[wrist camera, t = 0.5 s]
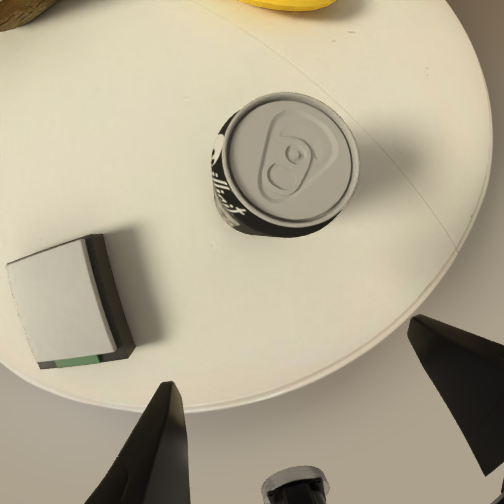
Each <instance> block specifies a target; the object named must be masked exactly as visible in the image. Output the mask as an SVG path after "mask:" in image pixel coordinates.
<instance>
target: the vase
mask: <svg viewBox="0 0 504 504" xmlns="http://www.w3.org/2000/svg"><path fill="white" fill-rule="evenodd" d="M238 1H241V2H245V3H248V4H251V5H254V6H258V7H264V8H269V9H274V10H285V11H309V10H315V9H319V8H323V7H326V6H328V5H330V4H331V3H333V2H335V1H336V0H238Z"/></svg>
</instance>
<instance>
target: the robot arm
mask: <svg viewBox="0 0 504 504" xmlns="http://www.w3.org/2000/svg"><path fill="white" fill-rule="evenodd" d="M407 335H408V339H409V341H410V343H411V345H412V346H413V348H414V350H415V352H416V354H417V356H418V358H419V360H420V362H421V364H422V366H423V368H424V369H425V371H426V373H427V374H428V376H429V377H430V379H431V380H432V382H433V384H434V385H435V387H436V388H437V390H438V392H439V393H440V395H441V397H442V398H443V400H444V402H445V403H446V405H447V407H448V408H449V410H450V411H451V413H452V415H453V417H454V419H455V420H456V422H457V424H458V426H459V427H460V429H461V431H462V433H463V434H464V436H465V438H466V440H467V442H468V444H469V446H470V448H471V450H472V452H473V454H474V455H475V458H476V459H477V461H478V463H479V465H480V468H481V470H482V472H483V474H484V475H485V476H487V475H488V474H490V473H491V472H492V471H493V470H495V469H496V468H497V467H498V466H500V465H501V464H502V463H503V462H504V345H501V344H499V343H496V342H493V341H492V342H491V340H487V339H485V338H483V337H480V336H477V335H475V334H472V333H469V332H467V331H464V330H461V329H459V328H456V327H453V326H451V325H448V324H445V323H443V322H440V321H437V320H435V319H432V318H429V317H427V316H424V315H421V314H418V315H416V316H414V317H412V318H411V320H410V324H409V328H408V332H407ZM187 442H188V441H187V432H186V425H185V418H184V410H183V403H182V397H181V395H180V393H179V391H178V389H177V387H176V385H175V383H174V382H173V381H168V382H162V383H161V384H160V386H159V387H158V389H157V391H156V392H155V394H154V396H153V397H152V399H151V401H150V402H149V404H148V406H147V407H146V409H145V411H144V412H143V414H142V416H141V417H140V419H139V421H138V423H137V425H136V426H135V428H134V429H133V431H132V433H131V434H130V436H129V438H128V439H127V441H126V443H125V445H124V446H123V448H122V450H121V451H120V453H119V455H118V457H117V458H116V460H115V461H114V463H113V465H112V466H111V468H110V469H109V471H108V473H107V474H106V476H105V477H104V479H103V480H102V481H101V483H100V484H99V486H98V487H97V488H96V489H95V491H94V492H93V493H92V494H91V496H90V497H89V498H88V499H87V501H86V502H85V503H84V504H190V488H189V469H188V443H187ZM501 493H502V494H501V495H500V496H499V497H498V498H496V499H495V500H494V501H493V502H492V503H491V504H504V480H503V484H502V490H501ZM267 497H268V499H269V501H270V503H271V504H326V497H325V491H324V485H323V480H322V478H321V477H317V478H314V479H311V480H307V481H304V482H301V483H297V484H294V485H290V486H287V487H283V488H279V489H275V490H271V491H268V492H267Z"/></svg>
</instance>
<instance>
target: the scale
mask: <svg viewBox="0 0 504 504" xmlns="http://www.w3.org/2000/svg"><path fill="white" fill-rule="evenodd" d="M6 269H7V274H8V278H9V282H10V286H11V290H12V294H13V298H14V301H15V305H16V308H17V311H18V314H19V317H20V321H21V324H22V327H23V329H24V332H25V335H26V338H27V340H28V343H29V346H30V348H31V351H32V353H33V356H34V358H35V361H36V362H37V363H38V365H39V367H40V369H50V368H63V367H72V366H80V365H88V364H96V363H101V362H108V361H114V360H121V359H127V358H129V356H130V355H131V353H132V352H133V350H134V349H135V344H134V341H133V339H132V336H131V333H130V330H129V327H128V324H127V321H126V318H125V315H124V312H123V309H122V306H121V303H120V299H119V296H118V293H117V289H116V286H115V282H114V278H113V275H112V271H111V267H110V263H109V259H108V255H107V251H106V247H105V243H104V238H103V234H90V235H87V236H84V237H81V238H78V239H75V240H72V241H69V242H66V243H63V244H60V245H57V246H54V247H51V248H48V249H45V250H43V251H40V252H37V253H34V254H32V255H29V256H26V257H23V258H21V259H18V260H15V261H13V262H10V263H8V264H7V265H6Z"/></svg>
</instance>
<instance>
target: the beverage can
mask: <svg viewBox="0 0 504 504" xmlns="http://www.w3.org/2000/svg"><path fill="white" fill-rule="evenodd" d="M211 166H212V178H213V189H214V199H215V203H216V207H217V209H218V211H219V213H220V215H221V216H222V218H223V219H224V220H225V221H226V222H227V223H228V224H229V225H230V226H231V227H233V228H234V229H236V230H238V231H240V232H242V233H245V234H250V235H259V236H270V237H281V238H292V237H300V236H305V235H308V234H311V233H314V232H316V231H318V230H320V229H322V228H323V227H325V226H326V225H327V224H329V223H330V222H331V221H332V220H333V219H334V218H335V217H336V216H337V215H338V214H339V213H340V212H341V210H342V209H343V208H344V207H345V205H346V204H347V203H348V202H349V200H350V199H351V197H352V195H353V194H354V191H355V189H356V186H357V183H358V179H359V172H360V159H359V152H358V148H357V145H356V142H355V139H354V137H353V135H352V132H351V131H350V129H349V127H348V126H347V124H346V123H345V122H344V120H343V119H342V118H341V117H340V116H339V115H338V114H337V113H336V112H335V111H334V110H333V109H331V108H330V107H329V106H327V105H326V104H324V103H323V102H321V101H319V100H317V99H315V98H312V97H310V96H307V95H303V94H299V93H292V92H279V93H272V94H268V95H264V96H261V97H259V98H257V99H255V100H253V101H251V102H250V103H248V104H247V105H245V106H244V107H243V108H242V109H241V110H239V111H238V112H236V113H235V114H234V115H233V116H232V117H230V118H229V119H228V121H227V122H226V123H225V124H224V126H223V127H222V129H221V130H220V132H219V134H218V136H217V138H216V141H215V144H214V147H213V152H212V161H211Z"/></svg>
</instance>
